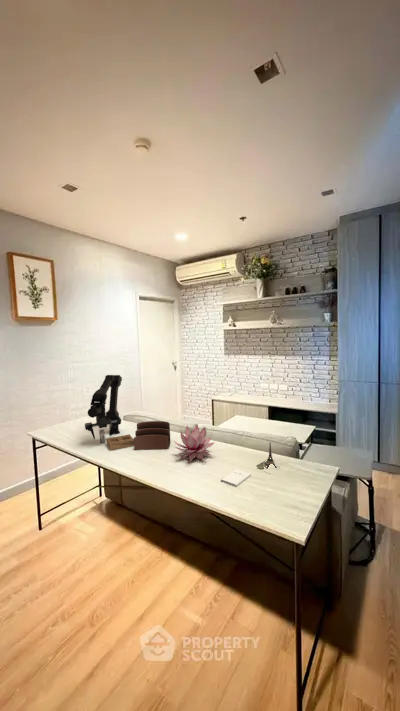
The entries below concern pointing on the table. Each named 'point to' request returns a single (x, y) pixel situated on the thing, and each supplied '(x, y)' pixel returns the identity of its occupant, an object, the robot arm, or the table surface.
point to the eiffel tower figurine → (268, 462)
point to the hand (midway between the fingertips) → (102, 437)
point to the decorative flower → (195, 443)
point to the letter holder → (152, 435)
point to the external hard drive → (236, 477)
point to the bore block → (120, 442)
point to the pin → (102, 436)
